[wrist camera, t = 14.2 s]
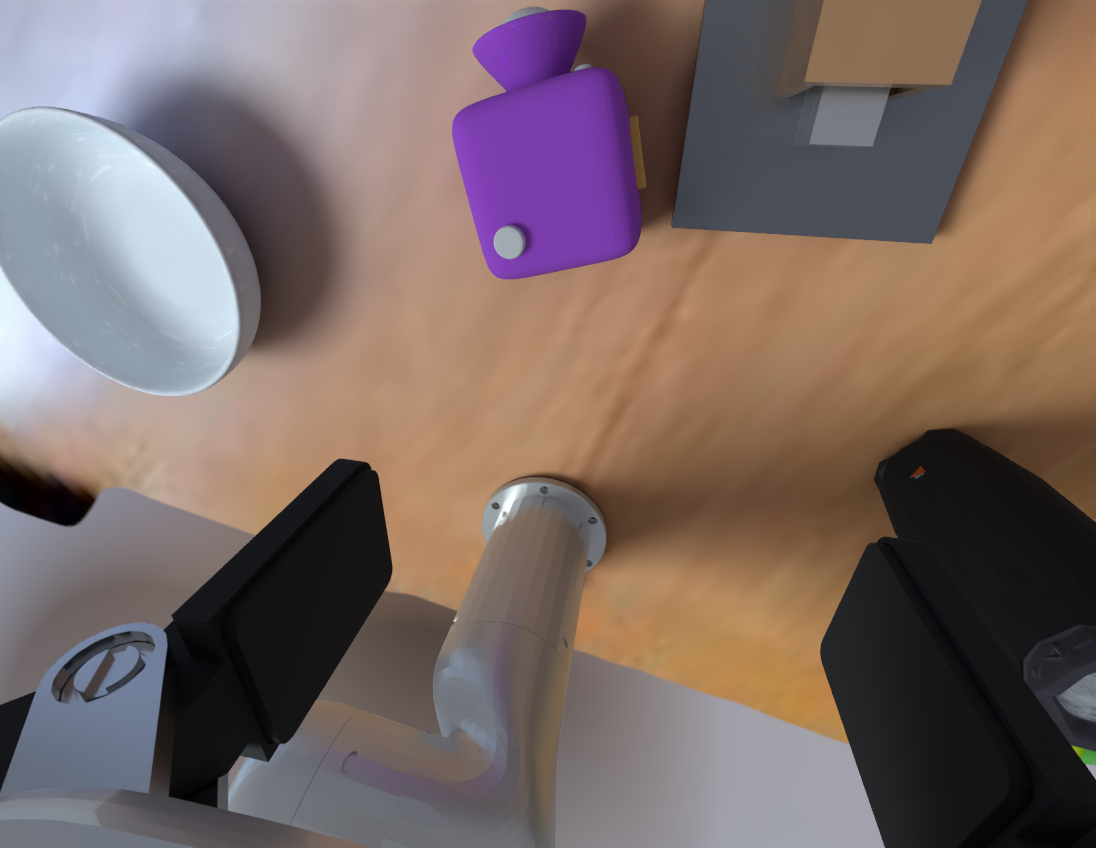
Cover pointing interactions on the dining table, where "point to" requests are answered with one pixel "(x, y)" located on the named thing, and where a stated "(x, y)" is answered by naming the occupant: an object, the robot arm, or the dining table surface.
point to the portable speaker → (1008, 562)
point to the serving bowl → (123, 252)
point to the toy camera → (549, 151)
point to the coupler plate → (817, 179)
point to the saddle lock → (876, 44)
